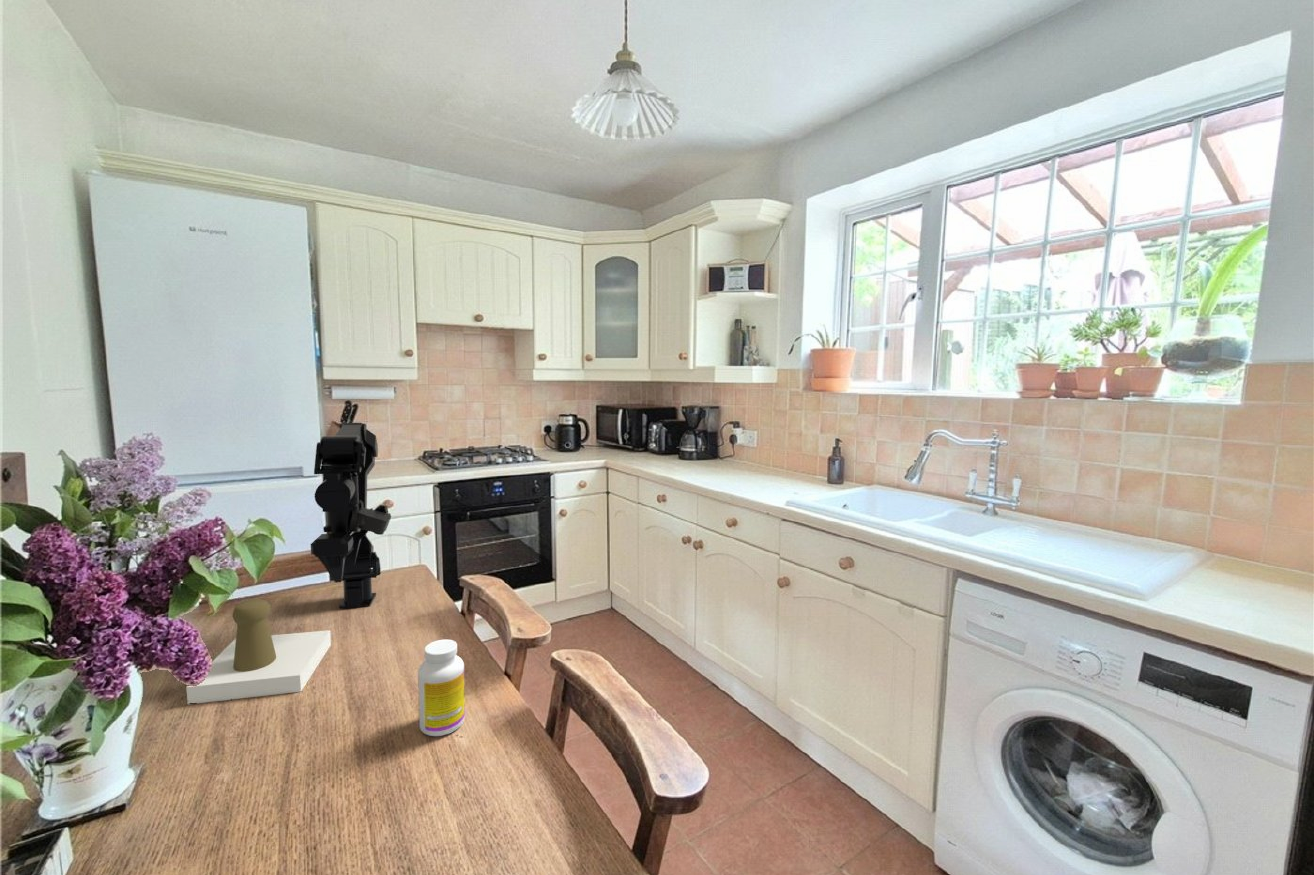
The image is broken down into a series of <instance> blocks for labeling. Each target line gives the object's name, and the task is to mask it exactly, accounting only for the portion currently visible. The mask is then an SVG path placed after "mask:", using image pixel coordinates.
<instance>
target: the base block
mask: <svg viewBox="0 0 1314 875" xmlns="http://www.w3.org/2000/svg"><path fill="white" fill-rule="evenodd" d="M271 637H272V641H273V645H274V649H275V653H276V659H275V661H274V662H272V663H271V664H269V665H267V666H265V667H263V668H260V669H257V670H253V671H246V672H240V671H236V670H234V668H233V665H234V655H235V644H236V638H234V639H233V640H232V641H231V642H230V643H229V644H228V645H227V646H226V647H225V648H224V649H223V650H221V652H220V653H218V655H217V656H216V657H215V658H214V659H213V660H212V661H211V662H212V668H211V671H210V673H209V674H208V675H207V677H206V678H205V680H204V681H203V682H202V683H200V684H199V685H197V686H188V685H187V686H186V689H185V690H186V697H187V699H186V700H187V704H188V703H197V704H206V703H212V702H221V701H230V700H231V699H232V700H238V699H239V700H240V699H248V698H257V697H265V696H275V695H285V694H290V693H291V694H292V693H300V692H302V690H304V688H305V686H306V684H307V683H308V681H309V680H310V679H311V677H312V676H313V674H314V672H315V670H316V669H317V667H318V666H319V664H320V662H321V661H322V659H323V658H324V656H326V653H327V651H328V650H329V649H330V647H331V645H332V637H331V630H330V629H329V630H317V631H306V632H293V633H284V634H273V635H272V634H271ZM232 700H231V701H232Z"/></svg>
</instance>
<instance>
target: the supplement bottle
mask: <svg viewBox="0 0 1314 875" xmlns="http://www.w3.org/2000/svg"><path fill="white" fill-rule="evenodd" d="M457 653H458V643H457V642H456V641H455V640H453V639H440V640H437V639H436V640H435V641H432V642H430V643H428V644H427V645H426V646H425V647H424V656H423V657H424V659H425V660H424V661H423V662H422V663H421V664H420V666H419V668H418V671H417V681H418V683H417V684H418V685H417V686H418V719H419V720H418V722H419V724H418V725H419V729H420V731H421V732H422V733H423V734H425V735H427V736H428V737H429V736H430V737H443V736H447V735H448V734H451V733H453V732H455V731H456V730H458V729H459V728H460V727H461V726H462V725H463V723H464V721H465V719H466V718H465V717H466V702H465V701H466V700H465V699H466V698H465V697H466V696H465V695H466V694H465V688H466V687H465V686H466V685H465V662H464V661H463V659H462V658H461V657H460V656H459V655H457Z"/></svg>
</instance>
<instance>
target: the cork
mask: <svg viewBox="0 0 1314 875" xmlns="http://www.w3.org/2000/svg"><path fill="white" fill-rule="evenodd" d="M270 613H271V605H270V603H269V602H268V601H267V600H265V599H261V598H255V599H250V600H249V599H248V600H245V601H242V602H240V603H239V604H237V605H236V606H235V607H234V609H233V612H232V619H233V621H234V623H235V624H236V625H237V627H236V637H235V639H236V644H235V655H234V665H233V668H234V670H236V671H240V672H246V671H253V670H257V669H260V668H263V667H265V666H267V665H269V664H271V663H272V662H274V661H275V659H276V653H275V649H274V645H273V641H272V637H271V635H272V633H271V629H270V625H269V624H270V623H269V622H268V621H269V620H268V617H269V616H270Z"/></svg>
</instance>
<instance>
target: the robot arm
mask: <svg viewBox="0 0 1314 875" xmlns="http://www.w3.org/2000/svg"><path fill="white" fill-rule="evenodd" d="M378 454H379V447H378V441H377V436H376V434H374V433H373V432H372V431H370V430H369V429H368V428H367V426H366V423H363V422H343V423H340V425H339V429H338V431H337V432H336V434H334V435H324V436H322V437H321V438H320V441H318V442H317V443H316V449H315V460H314V468H313V470H314V471H313V474H314V475H323V479H322V482H321V483H320V484H319V485H318V486H317V488H316V489H315V492H314V500H315V502H316V504H317V506H319V508H321V509H322V513H325V515H326V525H325V526H323V528H322V529H323V533H322V534H320V535H319V536H318V537H317V538H315V539H314V540H313V542H311V543H310V554H311V555H314V557H316V558H317V559H318V560H319V561H320V563H321V564H322V565H323V567H324V568H325V570H326V572H328V574H329V575H330V577H331V579H332V580H333V581H334V583H336V584H337V583H343V599H342V601H341V602H340V603H339V605H338V608H339V609H347V608H357V607H358V608H359V607H360V608H361V607H369V606H370V607H371V605H372V604H373V602H374V601H375V598H376V596H377V592H373V591H372V590H373V589H372V579H377V576H380V575H381V574H382V573H381V572H382V570H381V569H382V568H381V561H380V557H379V556H378V554H377V552H376V551H374V544H372V542H371V540H370V539H369V537H368V536H367V534H368V532H372V533H373V534H374V535H380V536H382V535H384V534H385V532H386V531H387V530H388V529H387V528H388V526H389V523H390V521H391V519H392V515H391V513H390V512H389V510H388V506H387V505H384V504H379V505H378V506H377V507H376V508H375V509H373V508H372V507H370V508H368V506H367V505H368V475H369V474H370V473H371V471H372V470H373V468H374V467H375V463H376V458H378Z"/></svg>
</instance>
